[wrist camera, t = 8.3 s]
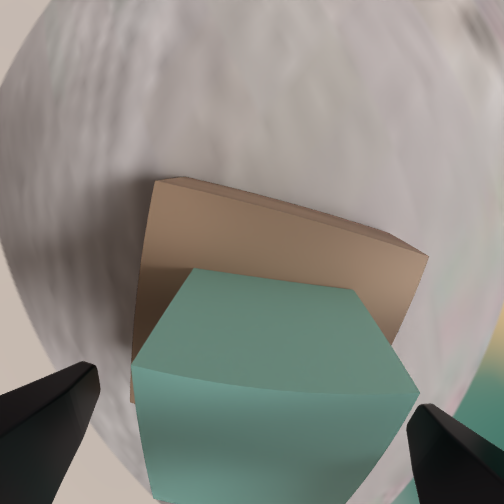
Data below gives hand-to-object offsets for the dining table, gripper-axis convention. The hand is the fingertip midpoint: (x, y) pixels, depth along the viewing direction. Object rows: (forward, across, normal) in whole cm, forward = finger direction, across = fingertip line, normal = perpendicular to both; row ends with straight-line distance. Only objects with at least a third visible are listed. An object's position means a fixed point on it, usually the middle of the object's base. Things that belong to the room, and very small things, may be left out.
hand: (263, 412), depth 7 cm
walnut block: (+7, 0, 0) cm, 7 cm away
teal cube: (+3, 0, 0) cm, 3 cm away
